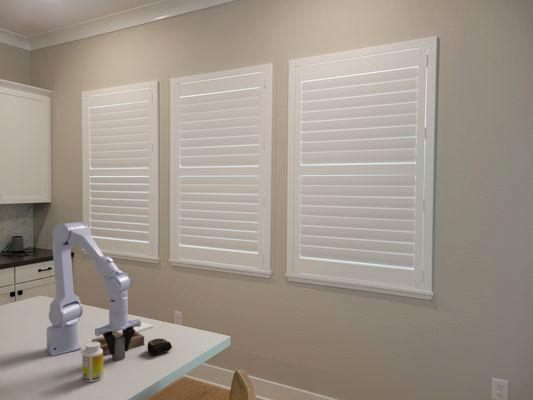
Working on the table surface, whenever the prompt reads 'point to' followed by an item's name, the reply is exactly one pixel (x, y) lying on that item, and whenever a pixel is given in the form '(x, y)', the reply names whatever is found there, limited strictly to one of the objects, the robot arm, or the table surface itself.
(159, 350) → the tape measure
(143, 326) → the external hard drive
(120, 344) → the plug
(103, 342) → the box
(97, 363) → the supplement bottle
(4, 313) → the table surface
